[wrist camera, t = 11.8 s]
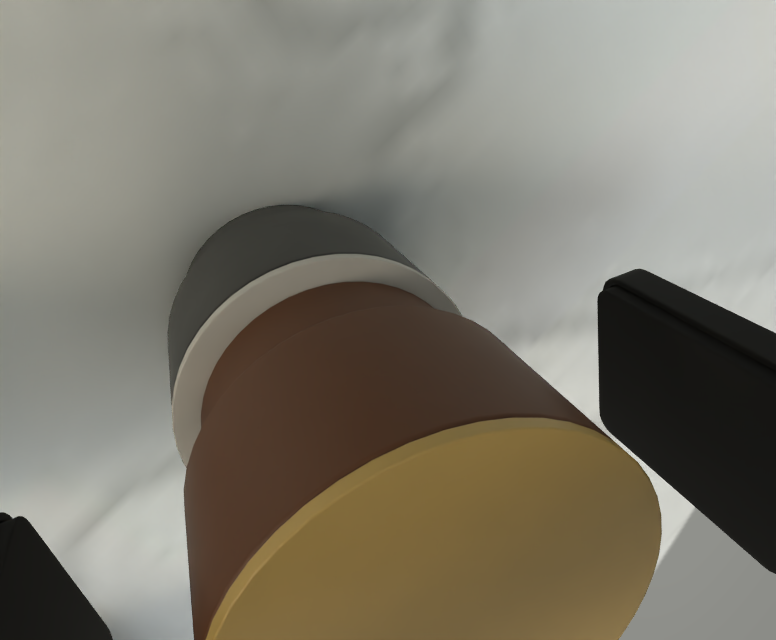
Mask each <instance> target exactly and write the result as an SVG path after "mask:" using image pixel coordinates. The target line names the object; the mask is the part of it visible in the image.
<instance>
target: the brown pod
mask: <svg viewBox="0 0 776 640" xmlns="http://www.w3.org/2000/svg"><path fill="white" fill-rule="evenodd" d="M184 506H185V522H186V536H187V549H188V563H189V577H190V591H191V604H192V618H193V632H194V640H618V639H619V638H620V637H621V635H622V634H623V632H624V631H625V629H626V628H627V626H628V625H629V623H630V621H631V620H632V618H633V617H634V615H635V613H636V611H637V610H638V608H639V605H640V604H641V602H642V600H643V598H644V596H645V594H646V592H647V589H648V587H649V584H650V582H651V579H652V577H653V574H654V570H655V567H656V563H657V560H658V556H659V550H660V543H661V535H662V529H661V512H660V507H659V502H658V497H657V495H656V492H655V490H654V488H653V485H652V483H651V481H650V479H649V477H648V476H647V474H646V473H645V471H644V470H643V469H642V467H641V466H640V465H639V463H638V462H637V461H636V460H635V459H633V458H632V457H631V456H630V455H629V454H628V453H627V452H626V451H624V450H623V449H622V448H621V447H620V446H619V445H618V444H617V443H615V442H614V441H613V440H612V439H611V438H610V437H609V436H608V435H606V434H605V433H604V432H603V431H602V430H601V429H600V428H598V427H597V426H596V425H595V424H594V423H593V422H592V421H591V420H589V419H588V418H587V417H586V416H585V415H584V414H583V413H582V412H580V411H579V410H578V409H577V408H576V407H575V406H574V405H573V404H571V403H570V402H569V401H568V400H567V399H566V398H565V397H563V396H562V395H561V394H560V393H559V392H558V391H557V390H556V389H554V388H553V387H552V386H551V385H550V384H549V383H548V382H547V381H545V380H544V379H543V378H542V377H541V376H540V375H539V374H538V373H536V372H535V371H534V370H533V369H532V368H531V367H530V366H528V365H527V364H526V363H525V362H524V361H523V360H522V359H521V358H519V357H518V356H517V355H516V354H515V353H514V352H513V351H512V350H510V349H509V348H508V347H507V346H506V345H505V344H504V343H502V342H501V341H500V340H499V339H498V338H497V337H496V336H494V335H493V334H492V333H491V332H490V331H488V330H487V329H485V328H483V327H482V326H480V325H479V324H477V323H475V322H474V321H472V320H469V319H467V318H464V317H462V316H459V315H457V314H454V313H451V312H447V311H442V310H438V309H434V308H433V307H432V306H431V305H429V304H428V303H427V302H426V301H424V300H422V299H421V298H419V297H417V296H416V295H414V294H412V293H410V292H407V291H405V290H402V289H400V288H397V287H393V286H389V285H385V284H381V283H372V282H341V283H334V284H328V285H323V286H319V287H316V288H312V289H308V290H305V291H303V292H300V293H298V294H296V295H293V296H291V297H288V298H286V299H285V300H283V301H281V302H279V303H277V304H276V305H274V306H272V307H270V308H269V309H267V310H266V311H265V312H263V313H262V314H260V315H259V316H258V317H256V318H255V319H254V320H253V321H251V322H250V323H249V324H248V325H247V326H246V327H245V328H244V329H243V330H242V331H241V332H240V333H239V334H238V335H237V336H236V337H235V338H234V340H233V341H232V342H231V343H230V344H229V345H228V347H227V348H226V349H225V351H224V352H223V354H222V356H221V357H220V359H219V360H218V362H217V363H216V365H215V367H214V369H213V372H212V374H211V376H210V378H209V380H208V383H207V387H206V390H205V393H204V397H203V402H202V410H201V430H200V432H199V434H198V436H197V439H196V441H195V443H194V445H193V448H192V452H191V455H190V458H189V462H188V465H187V469H186V477H185V484H184Z"/></svg>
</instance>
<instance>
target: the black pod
mask: <svg viewBox="0 0 776 640" xmlns="http://www.w3.org/2000/svg"><path fill="white" fill-rule="evenodd" d="M341 282H372V283H381V284H385V285H389V286H393V287H397V288H400V289H402V290H405V291H407V292H410V293H412V294H414V295H416V296H417V297H419V298H421V299H422V300H424V301H426V302H427V303H428V304H429V305H431V306H432V307H433V308H434V309H438V310H442V311H447V312H451V313H454V314H457V315H459V316H462V315H461V313H460V312H459V310H458V308H457V307H456V305H455V304H454V303H453V302H452V300H451V299H450V298H449V297H448V296H447V294H446V293H445V292H444V291H443V290H441V289H440V288H439V287H438V286H437V285H436V284H435V283H434V282H432V281H431V280H430V279H429V278H428V277H427V276H426V275H425V274H423V273H422V272H421V271H420V270H419V269H418V268H417V267H416V266H414V265H413V264H412V263H411V262H410V261H409V260H408V259H407V258H405V257H404V256H403V255H402V254H401V253H400V252H399V251H398V250H396V249H395V248H394V247H393V246H392V245H391V244H390V243H389V242H387V241H386V240H385V239H384V238H383V237H382V236H381V235H379V234H378V233H377V232H375V231H374V230H372V229H371V228H369V227H367V226H366V225H364V224H362V223H360V222H358V221H355V220H353V219H351V218H348V217H345V216H341V215H338V214H335V213H329V212H323V211H320V210H317V209H313V208H310V207H303V206H297V205H280V206H271V207H266V208H261V209H257V210H254V211H251V212H249V213H246V214H243V215H241V216H239V217H237V218H236V219H234V220H232V221H230V222H228V223H227V224H226V225H224V226H223V227H221V228H220V229H219V230H217V231H216V232H215V233H214V234H213V235H212V236H211V237H210V238H209V239H208V240H207V241H206V242H205V244H204V245H203V246H202V247H201V248H200V250H199V251H198V253H197V254H196V256H195V258H194V259H193V261H192V263H191V265H190V267H189V270H188V272H187V274H186V277H185V278H184V280H183V281H182V283H181V285H180V287H179V289H178V292H177V294H176V296H175V299H174V301H173V305H172V309H171V312H170V316H169V324H168V353H169V370H170V387H171V405H172V421H173V432H174V436H175V441H176V446H177V449H178V451H179V454H180V456H181V458H182V461H183V463H184V465H185V466H186V468H187V465H188V462H189V458H190V455H191V452H192V448H193V445H194V443H195V441H196V439H197V436H198V434H199V432H200V430H201V410H202V402H203V397H204V393H205V390H206V387H207V383H208V380H209V378H210V376H211V374H212V372H213V369H214V367H215V365H216V363H217V362H218V360H219V359H220V357H221V356H222V354H223V352H224V351H225V349H226V348H227V347H228V345H229V344H230V343H231V342H232V341H233V340H234V338H235V337H236V336H237V335H238V334H239V333H240V332H241V331H242V330H243V329H244V328H245V327H246V326H247V325H248V324H249V323H250V322H251V321H253V320H254V319H255V318H256V317H258V316H259V315H260V314H262V313H263V312H265V311H266V310H267V309H269V308H270V307H272V306H274V305H276V304H277V303H279V302H281V301H283V300H285V299H286V298H288V297H291V296H293V295H296V294H298V293H300V292H303V291H305V290H308V289H312V288H316V287H319V286H323V285H328V284H334V283H341Z"/></svg>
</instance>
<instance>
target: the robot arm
mask: <svg viewBox="0 0 776 640" xmlns="http://www.w3.org/2000/svg"><path fill="white" fill-rule="evenodd" d="M597 302H598V355H599V409H600V417H601V420H602V422H603V424H604V426H605V427H606V428H607V430H608V431H609V432H610V433H611V434H612V435H613V436H615V437H616V438H617V439H618V440H619V441H620V442H622V443H623V444H624V445H625V446H626V447H627V448H628V449H630V450H631V451H632V452H633V453H634V454H635V455H636V456H638V457H639V458H640V459H641V460H642V461H643V462H644V463H646V464H647V465H648V466H649V467H650V468H651V469H652V470H654V471H655V472H656V473H657V474H658V475H659V476H660V477H662V478H663V479H664V480H665V481H666V482H667V483H668V484H670V485H671V486H672V487H673V488H674V489H675V490H676V491H678V492H679V493H680V494H681V495H682V496H683V497H685V498H686V499H687V500H688V501H689V502H690V503H691V504H693V505H694V506H695V507H696V508H697V509H698V510H699V511H701V512H702V513H703V514H704V515H705V516H706V517H708V518H709V519H710V520H711V521H712V522H713V523H715V524H716V525H717V526H718V527H719V528H720V529H721V530H722V531H724V532H725V533H726V534H727V535H728V536H729V537H730V538H731V539H733V540H734V541H735V542H736V543H737V544H738V545H739V546H741V547H742V548H743V549H744V550H745V551H746V552H748V553H749V554H750V555H751V556H752V557H753V558H754V559H756V560H757V561H758V562H759V563H760V564H761V565H762V566H764V567H765V568H766V569H768V570H769V571H771V572H773V573H775V574H776V333H774V332H772V331H770V330H768V329H766V328H764V327H762V326H759V325H757V324H755V323H753V322H751V321H749V320H747V319H745V318H743V317H741V316H739V315H737V314H735V313H733V312H731V311H729V310H726V309H724V308H722V307H720V306H718V305H716V304H714V303H712V302H710V301H708V300H706V299H704V298H702V297H700V296H698V295H696V294H693V293H691V292H689V291H687V290H685V289H683V288H681V287H679V286H677V285H675V284H673V283H671V282H669V281H667V280H665V279H662V278H660V277H658V276H656V275H654V274H652V273H650V272H648V271H646V270H643V269H635V270H632V271H630V272H627V273H624V274H622V275H619V276H617V277H614V278H611V279H609V280H608V281H606V282H605V285H604V287H603V291H602V292H600V293H599V295H598V301H597ZM0 640H113V639H112V636H111V633H110V631H109V629H108V627H107V626H106V624H105V623H104V622H103V620H102V619H101V618H100V616H99V615H98V614H97V612H96V611H95V609H94V608H93V607H92V605H91V604H90V603H89V601H88V600H87V599H86V597H85V596H84V595H83V593H82V592H81V591H80V589H79V588H78V587H77V585H76V584H75V583H74V581H73V580H72V579H71V577H70V576H69V575H68V573H67V572H66V571H65V569H64V568H63V566H62V565H61V564H60V562H59V561H58V560H57V558H56V557H55V556H54V554H53V553H52V552H51V550H50V549H49V548H48V546H47V545H46V544H45V542H44V541H43V540H42V538H41V537H40V536H39V534H38V533H37V532H36V530H35V529H34V528H33V526H32V525H31V524H30V522H29V521H28V520H27V519H26V518H24V517H22V516H18V517H16V518H12V517H11V516H10V515H8V514H6V513H0Z"/></svg>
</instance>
